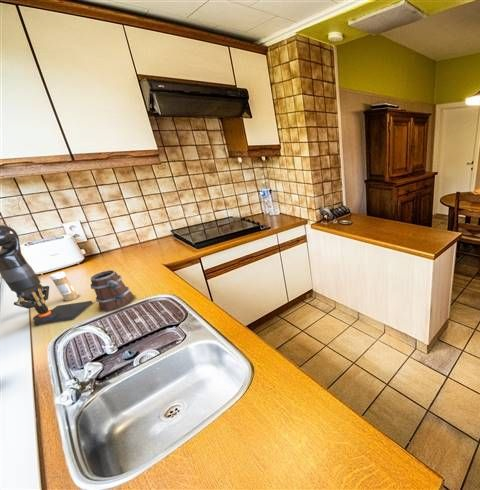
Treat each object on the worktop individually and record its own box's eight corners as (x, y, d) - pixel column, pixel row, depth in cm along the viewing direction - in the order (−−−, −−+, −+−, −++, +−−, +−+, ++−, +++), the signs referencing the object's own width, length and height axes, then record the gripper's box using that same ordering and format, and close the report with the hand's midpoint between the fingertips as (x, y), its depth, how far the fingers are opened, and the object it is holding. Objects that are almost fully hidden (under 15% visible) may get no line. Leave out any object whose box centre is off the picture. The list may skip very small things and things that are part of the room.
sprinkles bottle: (80, 294, 128) (66, 270, 123) (73, 300, 124) (58, 275, 119) (69, 296, 127) (54, 272, 122) (61, 302, 123) (46, 277, 118)
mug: (95, 307, 118) (78, 278, 112) (127, 293, 127) (113, 265, 121) (112, 316, 111) (95, 286, 105) (144, 300, 121) (131, 272, 115)
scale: (32, 326, 107) (28, 320, 106) (57, 308, 118) (53, 302, 117) (71, 320, 110) (68, 314, 109) (92, 303, 121) (89, 297, 120)
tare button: (37, 319, 108) (34, 316, 107) (44, 314, 111) (42, 310, 111) (47, 318, 109) (45, 314, 108) (54, 312, 112) (52, 309, 111)
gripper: (24, 270, 108) (47, 305, 115) (-10, 287, 96) (17, 324, 103) (46, 267, 109) (67, 301, 116) (15, 283, 97) (41, 321, 104)
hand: (44, 312), depth 109 cm, fingers closed
